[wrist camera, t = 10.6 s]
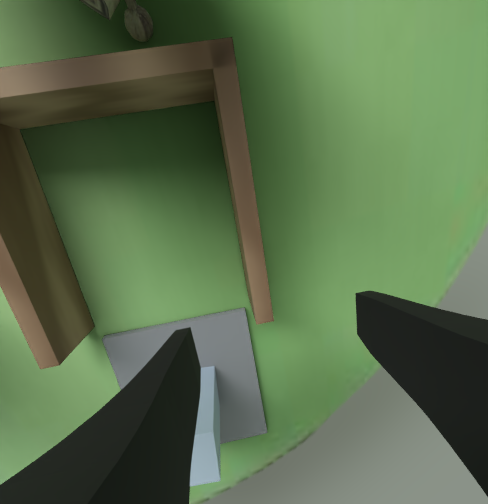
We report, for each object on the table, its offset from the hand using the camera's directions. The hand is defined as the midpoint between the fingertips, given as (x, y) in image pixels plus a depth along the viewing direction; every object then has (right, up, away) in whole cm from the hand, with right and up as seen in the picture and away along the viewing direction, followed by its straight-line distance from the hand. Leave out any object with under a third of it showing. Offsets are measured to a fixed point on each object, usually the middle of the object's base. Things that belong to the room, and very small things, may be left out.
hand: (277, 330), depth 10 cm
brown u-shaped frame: (-9, +6, +8) cm, 13 cm away
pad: (-6, -9, +12) cm, 16 cm away
